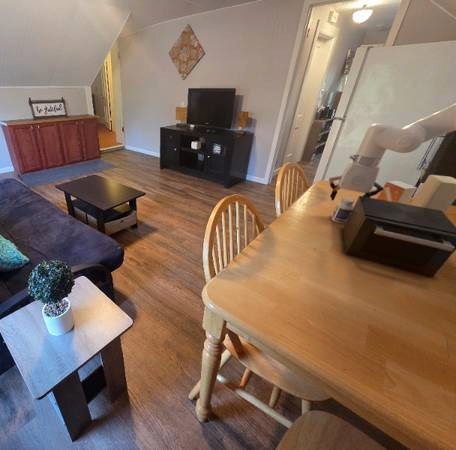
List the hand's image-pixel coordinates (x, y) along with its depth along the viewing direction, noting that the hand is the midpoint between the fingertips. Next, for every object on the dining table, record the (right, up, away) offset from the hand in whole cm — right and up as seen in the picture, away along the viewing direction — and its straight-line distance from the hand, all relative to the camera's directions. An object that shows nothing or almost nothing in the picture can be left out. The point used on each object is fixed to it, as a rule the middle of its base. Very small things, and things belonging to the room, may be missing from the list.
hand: (346, 202), depth 98 cm
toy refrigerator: (+27, -11, -1) cm, 29 cm away
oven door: (-3, -23, -21) cm, 31 cm away
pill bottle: (0, -8, +4) cm, 9 cm away
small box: (+27, -3, +12) cm, 30 cm away
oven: (+2, -18, -13) cm, 22 cm away
